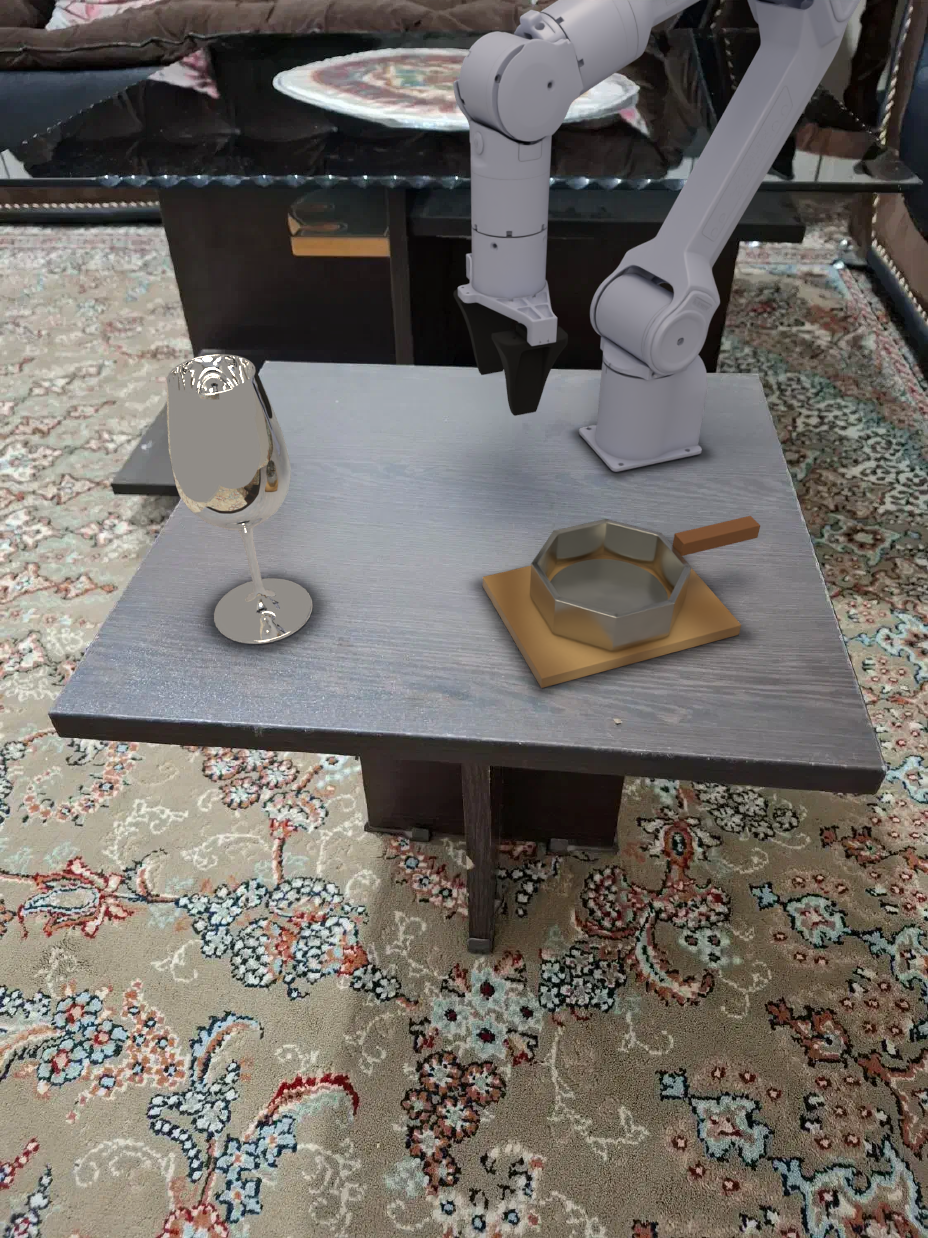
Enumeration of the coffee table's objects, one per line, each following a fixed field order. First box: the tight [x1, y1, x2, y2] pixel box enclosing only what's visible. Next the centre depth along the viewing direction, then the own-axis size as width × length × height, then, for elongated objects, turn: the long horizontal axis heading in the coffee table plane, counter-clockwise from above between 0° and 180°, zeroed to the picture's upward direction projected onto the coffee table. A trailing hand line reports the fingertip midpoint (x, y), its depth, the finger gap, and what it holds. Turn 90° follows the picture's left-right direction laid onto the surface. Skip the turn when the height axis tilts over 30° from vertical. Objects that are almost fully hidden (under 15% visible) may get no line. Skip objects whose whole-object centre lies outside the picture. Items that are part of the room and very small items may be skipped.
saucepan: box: [530, 515, 761, 651], centre depth 68 cm, size 18×11×4 cm, turn 109°
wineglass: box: [166, 353, 314, 645], centre depth 63 cm, size 8×8×20 cm
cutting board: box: [482, 555, 742, 689], centre depth 69 cm, size 16×12×1 cm
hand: (506, 391), depth 76 cm, fingers open, 7 cm apart
